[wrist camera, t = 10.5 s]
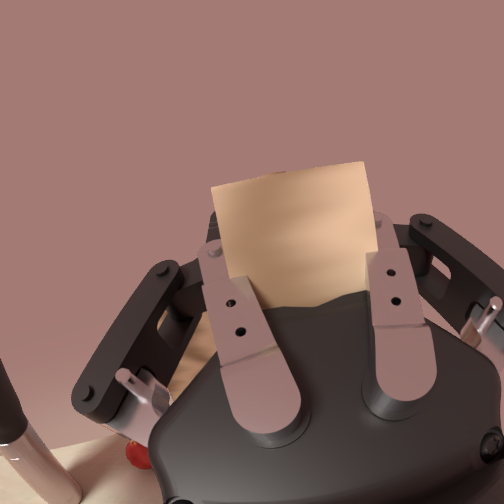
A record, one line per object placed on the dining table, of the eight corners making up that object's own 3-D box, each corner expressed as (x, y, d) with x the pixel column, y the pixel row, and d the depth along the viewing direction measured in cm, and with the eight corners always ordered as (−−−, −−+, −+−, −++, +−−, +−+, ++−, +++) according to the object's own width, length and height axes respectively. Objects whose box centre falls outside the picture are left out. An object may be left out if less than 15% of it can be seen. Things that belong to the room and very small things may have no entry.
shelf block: (203, 459, 37) (134, 297, 33) (215, 416, 50) (168, 274, 45) (270, 456, 36) (222, 282, 31) (270, 411, 48) (235, 262, 44)
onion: (132, 463, 35) (113, 437, 34) (156, 452, 39) (138, 425, 38) (144, 481, 31) (123, 454, 30) (169, 468, 34) (151, 441, 33)
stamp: (243, 346, 7) (196, 117, 6) (265, 244, 29) (253, 185, 28) (384, 319, 7) (346, 92, 6) (303, 237, 29) (292, 178, 28)
